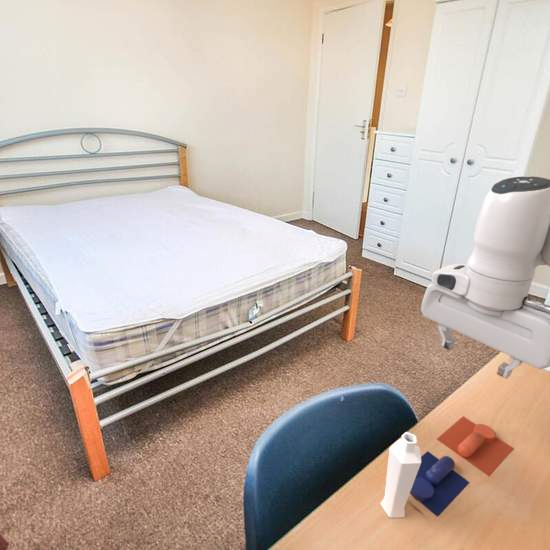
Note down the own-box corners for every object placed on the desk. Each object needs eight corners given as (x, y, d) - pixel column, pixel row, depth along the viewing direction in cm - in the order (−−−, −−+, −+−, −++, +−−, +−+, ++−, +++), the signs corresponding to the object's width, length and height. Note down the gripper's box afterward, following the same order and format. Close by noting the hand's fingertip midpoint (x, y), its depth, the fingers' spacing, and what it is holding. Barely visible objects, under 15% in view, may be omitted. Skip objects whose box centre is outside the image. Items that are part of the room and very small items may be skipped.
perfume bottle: (415, 515, 60) (434, 445, 54) (392, 525, 58) (408, 454, 52) (396, 489, 64) (412, 422, 58) (374, 498, 62) (388, 429, 56)
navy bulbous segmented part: (440, 458, 69) (442, 448, 68) (459, 472, 66) (462, 462, 65) (405, 490, 63) (407, 480, 62) (424, 506, 60) (427, 496, 59)
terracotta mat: (462, 418, 79) (463, 416, 79) (513, 450, 72) (514, 448, 72) (435, 441, 73) (436, 438, 73) (488, 478, 66) (489, 476, 66)
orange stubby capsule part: (469, 464, 68) (472, 455, 67) (450, 451, 70) (453, 441, 69) (497, 436, 74) (500, 427, 73) (478, 425, 76) (481, 416, 76)
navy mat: (427, 453, 71) (427, 450, 70) (469, 484, 65) (469, 482, 65) (394, 482, 65) (394, 479, 65) (436, 519, 59) (437, 516, 59)
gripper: (582, 307, 52) (551, 386, 58) (443, 261, 67) (429, 328, 73) (566, 321, 49) (534, 404, 54) (423, 270, 63) (410, 340, 69)
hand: (473, 360), depth 64 cm, fingers open, 8 cm apart
